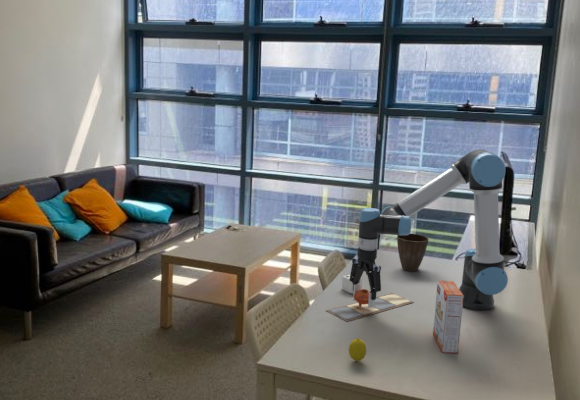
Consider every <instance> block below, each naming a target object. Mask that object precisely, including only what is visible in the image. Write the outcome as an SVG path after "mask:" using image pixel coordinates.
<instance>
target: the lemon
mask: <svg viewBox="0 0 580 400" xmlns="http://www.w3.org/2000/svg"><path fill="white" fill-rule="evenodd" d="M348 354H349V357H350V358H351V359H352V360H353V361H355V363H357V362H360V361H362V360H364V358H365V357H366V355H367V345H366V343H365V342H364V341H363V340H362V338H359V337H358V338H354V339H353V340H351V342H350V343H349V346H348Z"/></svg>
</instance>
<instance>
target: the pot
mask: <svg viewBox="0 0 580 400" xmlns="http://www.w3.org/2000/svg"><path fill="white" fill-rule="evenodd" d="M369 291H370V290H368V289H366V288H362V290H360V291H358V292H356V293H355V294H354V299H355V300H356V301H355V302H358V303H359V307H361V305H362V304H368V300H369Z"/></svg>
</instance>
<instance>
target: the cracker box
mask: <svg viewBox="0 0 580 400" xmlns="http://www.w3.org/2000/svg"><path fill="white" fill-rule="evenodd" d="M436 285H437V287H436V297H435V306H434V317H433V318H434V320H433V330H432V336H433V337H434V340H435V342H436V343H437V346H438V347H439V350H440V352H441V353H449V354H458V353H459V345H460V335H461V327H462V318H463V308H464V307H463V299H464V295H463V294H462V293H461V291H460V290H459V289H460V287H458V286H457V284H456V283H455V281H454V280H437V284H436Z"/></svg>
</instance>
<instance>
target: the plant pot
mask: <svg viewBox="0 0 580 400" xmlns="http://www.w3.org/2000/svg"><path fill="white" fill-rule="evenodd" d="M396 240H397V243H396V244H397V250H398V251H397V252H398V258H399V262H400V265H401V269H402V270H404V271H407V272H417V271H418V270H419V268H420V266H421V264H422V262H423V260H424V257H425V254H426V251H427V248H428V242H429V237H427V236H425V235H422V234H417V233H410V234H409V235H401V236H400V235H396Z"/></svg>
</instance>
